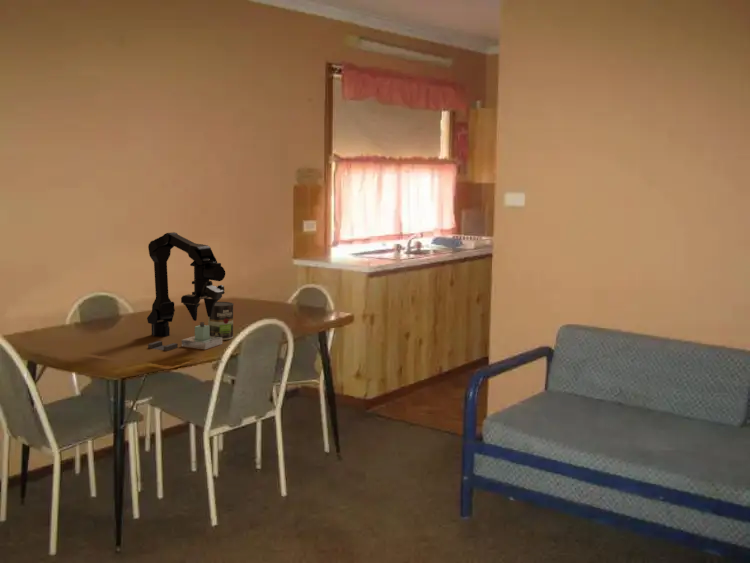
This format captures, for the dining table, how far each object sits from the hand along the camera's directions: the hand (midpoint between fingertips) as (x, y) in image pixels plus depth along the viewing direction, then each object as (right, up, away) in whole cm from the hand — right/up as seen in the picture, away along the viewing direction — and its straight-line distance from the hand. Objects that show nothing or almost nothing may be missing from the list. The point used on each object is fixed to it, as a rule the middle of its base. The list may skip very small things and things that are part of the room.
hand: (202, 318), depth 313 cm
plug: (0, -11, +2) cm, 11 cm away
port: (0, -11, +2) cm, 11 cm away
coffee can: (+3, -9, +20) cm, 22 cm away
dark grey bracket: (-14, -12, -4) cm, 19 cm away
